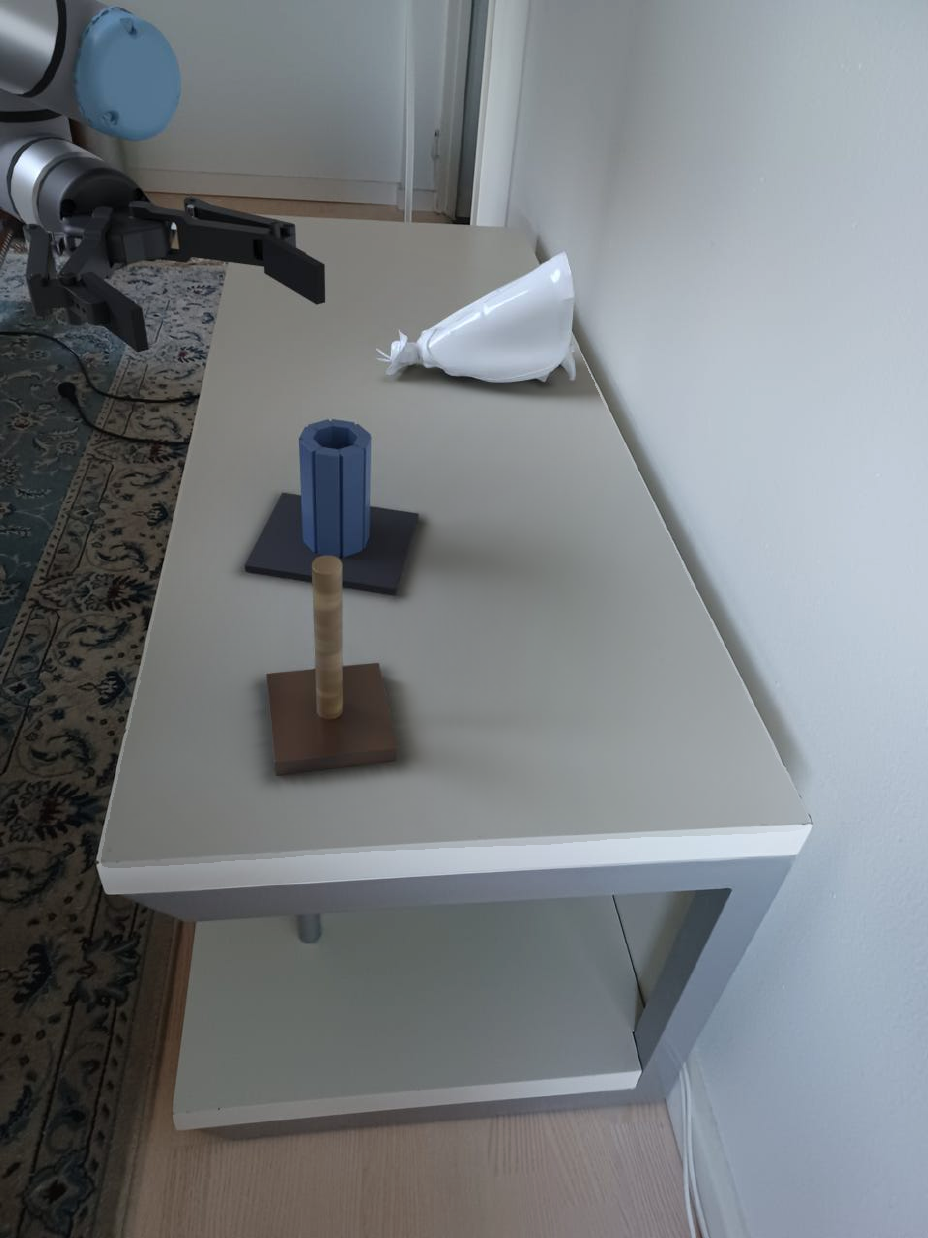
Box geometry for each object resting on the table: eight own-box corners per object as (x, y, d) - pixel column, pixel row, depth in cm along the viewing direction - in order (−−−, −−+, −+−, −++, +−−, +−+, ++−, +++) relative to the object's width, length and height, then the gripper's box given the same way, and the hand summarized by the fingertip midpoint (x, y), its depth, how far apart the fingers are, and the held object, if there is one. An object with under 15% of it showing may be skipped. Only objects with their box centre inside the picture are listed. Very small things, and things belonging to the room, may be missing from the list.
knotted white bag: (559, 363, 122) (373, 362, 119) (571, 237, 114) (372, 232, 110) (582, 396, 111) (378, 395, 108) (598, 259, 102) (377, 254, 99)
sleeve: (296, 551, 84) (292, 449, 77) (313, 515, 88) (310, 415, 81) (360, 561, 84) (361, 460, 76) (373, 524, 88) (376, 425, 81)
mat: (244, 571, 82) (244, 564, 82) (282, 498, 91) (282, 492, 91) (395, 595, 82) (395, 588, 81) (418, 519, 91) (419, 513, 90)
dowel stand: (275, 775, 66) (262, 615, 55) (266, 686, 72) (253, 528, 62) (397, 760, 68) (406, 603, 57) (378, 675, 74) (383, 519, 64)
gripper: (229, 229, 79) (382, 317, 68) (-71, 288, 65) (63, 411, 55) (221, 135, 74) (385, 215, 63) (-105, 178, 60) (34, 289, 50)
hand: (236, 306), depth 59 cm, fingers open, 13 cm apart
